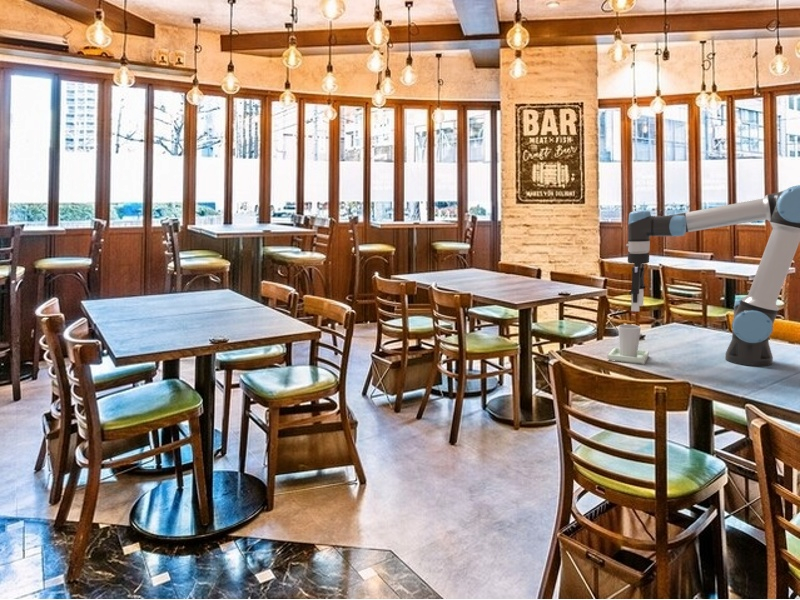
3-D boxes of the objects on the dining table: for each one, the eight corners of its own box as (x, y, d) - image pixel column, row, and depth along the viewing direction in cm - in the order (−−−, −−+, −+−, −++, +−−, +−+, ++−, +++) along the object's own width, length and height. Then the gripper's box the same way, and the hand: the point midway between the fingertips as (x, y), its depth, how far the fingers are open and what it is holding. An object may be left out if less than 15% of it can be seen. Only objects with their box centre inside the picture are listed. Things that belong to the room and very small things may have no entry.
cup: (641, 360, 217) (642, 328, 215) (619, 359, 218) (620, 328, 217) (637, 354, 225) (638, 324, 223) (615, 354, 226) (616, 324, 224)
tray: (648, 356, 224) (648, 350, 224) (644, 364, 213) (644, 358, 213) (613, 352, 230) (613, 347, 230) (607, 360, 219) (607, 354, 219)
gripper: (632, 250, 229) (631, 303, 232) (623, 255, 207) (622, 313, 210) (652, 250, 225) (651, 303, 229) (645, 255, 204) (644, 314, 207)
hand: (637, 308), depth 220 cm, fingers open, 13 cm apart
